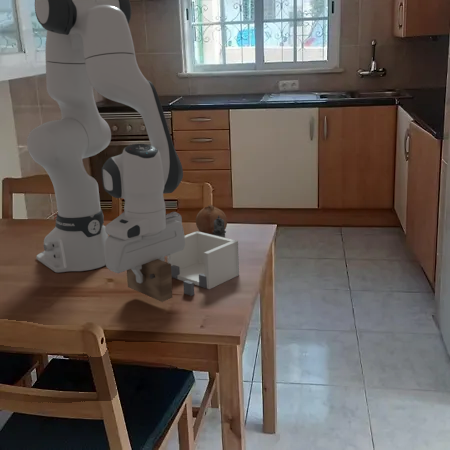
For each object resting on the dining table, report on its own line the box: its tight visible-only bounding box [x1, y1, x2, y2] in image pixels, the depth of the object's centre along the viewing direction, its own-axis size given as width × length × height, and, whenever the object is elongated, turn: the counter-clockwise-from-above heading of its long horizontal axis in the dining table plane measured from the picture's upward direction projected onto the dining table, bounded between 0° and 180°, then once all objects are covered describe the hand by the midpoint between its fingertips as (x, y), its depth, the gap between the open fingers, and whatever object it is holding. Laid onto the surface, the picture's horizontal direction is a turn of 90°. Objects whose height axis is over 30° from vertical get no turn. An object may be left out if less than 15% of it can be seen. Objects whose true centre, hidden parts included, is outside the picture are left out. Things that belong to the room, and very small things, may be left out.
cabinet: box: [166, 230, 240, 297], centre depth 144 cm, size 14×16×9 cm
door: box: [126, 259, 173, 303], centre depth 131 cm, size 12×4×8 cm, turn 47°
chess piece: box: [213, 216, 227, 238], centre depth 157 cm, size 6×6×12 cm
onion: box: [195, 203, 228, 235], centre depth 174 cm, size 10×9×10 cm
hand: (148, 278), depth 131 cm, fingers closed on door, 3 cm apart
